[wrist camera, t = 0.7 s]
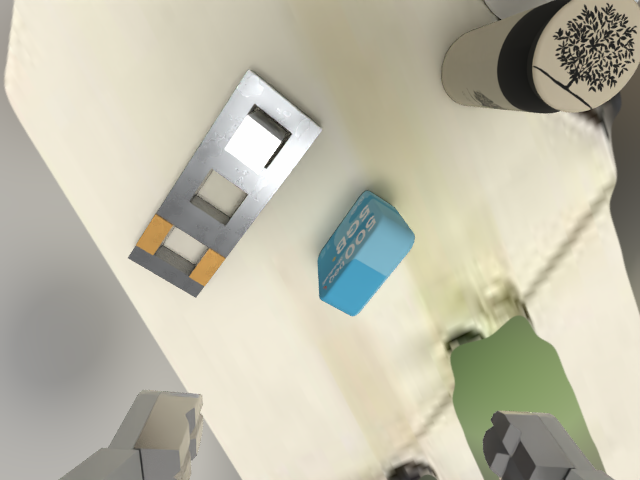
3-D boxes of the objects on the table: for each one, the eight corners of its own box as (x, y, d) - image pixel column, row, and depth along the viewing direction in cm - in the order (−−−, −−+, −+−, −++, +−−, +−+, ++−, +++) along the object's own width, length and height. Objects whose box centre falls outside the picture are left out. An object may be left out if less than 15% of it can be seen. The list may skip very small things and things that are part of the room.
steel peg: (259, 110, 41) (247, 115, 33) (286, 131, 42) (281, 141, 34) (241, 137, 42) (224, 149, 34) (267, 157, 44) (258, 173, 35)
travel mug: (477, 12, 38) (607, -48, 21) (524, 62, 40) (674, 42, 24) (426, 76, 40) (507, 66, 24) (472, 120, 42) (577, 139, 26)
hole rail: (252, 70, 40) (247, 69, 37) (321, 127, 42) (322, 130, 39) (138, 248, 48) (127, 258, 45) (202, 286, 51) (195, 298, 48)
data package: (365, 186, 45) (384, 217, 34) (393, 204, 46) (419, 240, 35) (316, 256, 49) (318, 305, 38) (342, 271, 50) (352, 322, 39)
